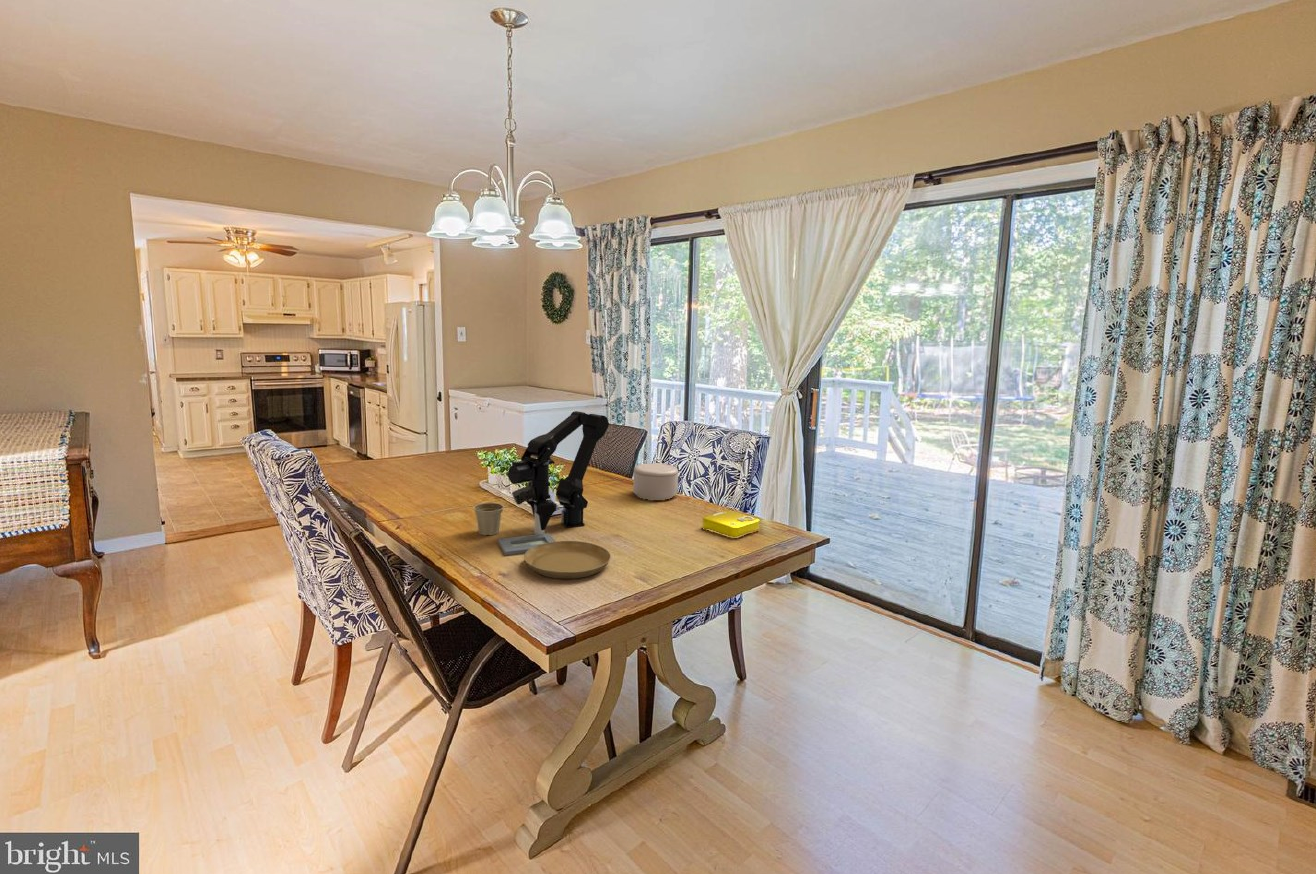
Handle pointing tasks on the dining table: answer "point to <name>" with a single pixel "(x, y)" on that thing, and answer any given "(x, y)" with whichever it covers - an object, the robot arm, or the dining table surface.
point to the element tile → (730, 523)
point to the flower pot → (488, 517)
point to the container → (655, 481)
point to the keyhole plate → (523, 543)
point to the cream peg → (538, 525)
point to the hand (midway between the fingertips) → (539, 525)
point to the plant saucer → (567, 559)
